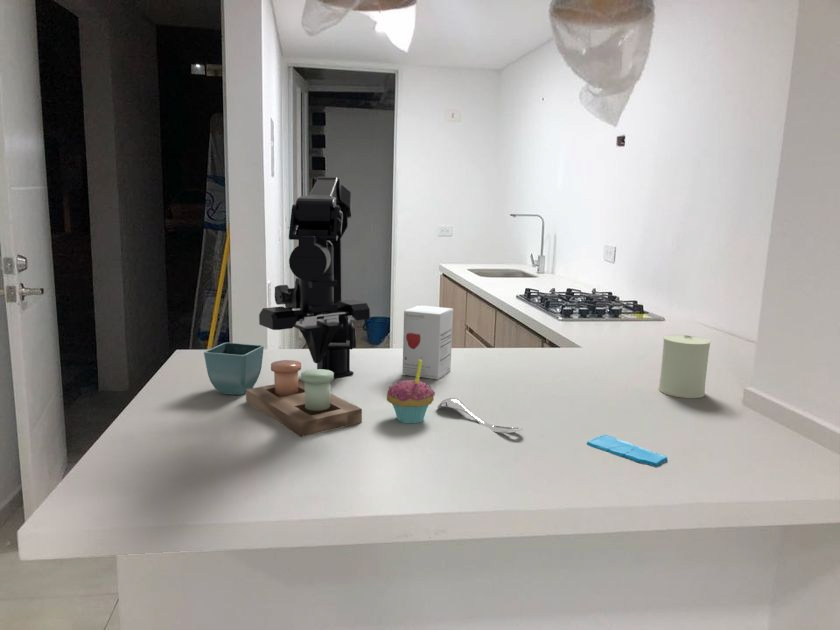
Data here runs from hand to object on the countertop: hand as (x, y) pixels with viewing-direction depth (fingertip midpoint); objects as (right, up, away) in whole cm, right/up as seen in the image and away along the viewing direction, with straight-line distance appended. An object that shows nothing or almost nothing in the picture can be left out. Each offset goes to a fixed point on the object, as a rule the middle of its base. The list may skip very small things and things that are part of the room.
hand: (317, 362), depth 106 cm
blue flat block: (+51, -14, -8) cm, 53 cm away
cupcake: (+16, -11, +4) cm, 20 cm away
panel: (-4, -10, +6) cm, 12 cm away
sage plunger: (0, -8, +1) cm, 8 cm away
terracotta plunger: (-8, -7, +11) cm, 15 cm away
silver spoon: (+28, -11, +4) cm, 31 cm away
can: (+74, -8, +25) cm, 78 cm away
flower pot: (-19, -7, +18) cm, 27 cm away
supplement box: (+19, -5, +34) cm, 40 cm away
